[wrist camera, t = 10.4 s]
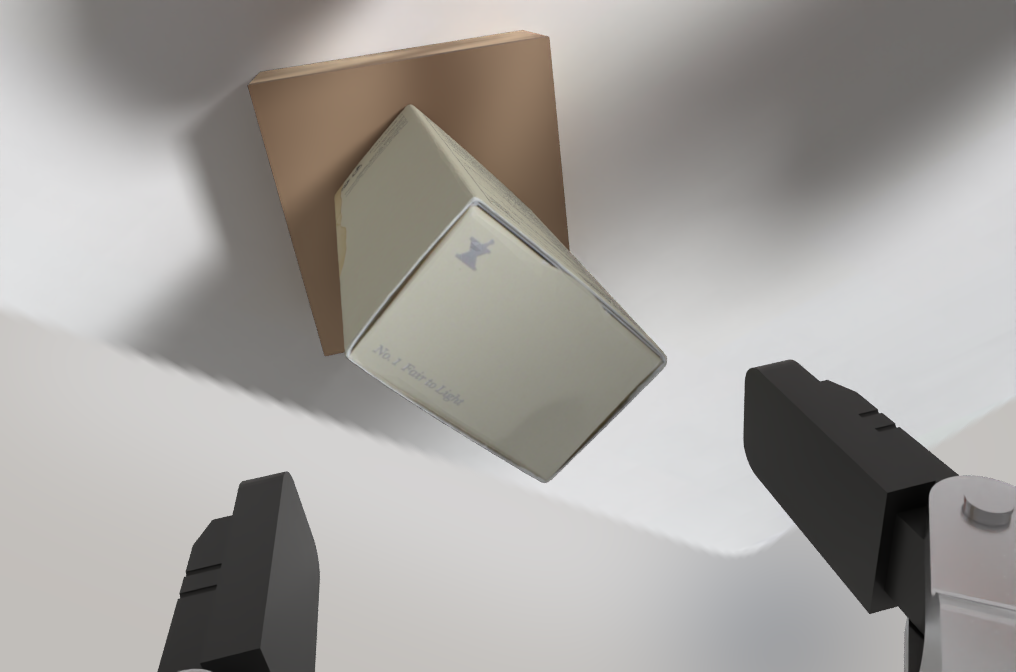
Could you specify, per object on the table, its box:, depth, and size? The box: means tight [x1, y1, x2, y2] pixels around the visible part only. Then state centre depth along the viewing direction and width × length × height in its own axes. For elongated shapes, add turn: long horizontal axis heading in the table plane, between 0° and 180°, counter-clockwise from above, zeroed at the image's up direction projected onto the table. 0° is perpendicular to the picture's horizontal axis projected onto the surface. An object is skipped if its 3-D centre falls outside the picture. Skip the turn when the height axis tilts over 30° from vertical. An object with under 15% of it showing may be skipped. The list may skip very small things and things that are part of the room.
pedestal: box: [248, 30, 570, 356], centre depth 28 cm, size 10×10×4 cm
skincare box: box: [334, 105, 667, 483], centre depth 20 cm, size 6×4×12 cm
